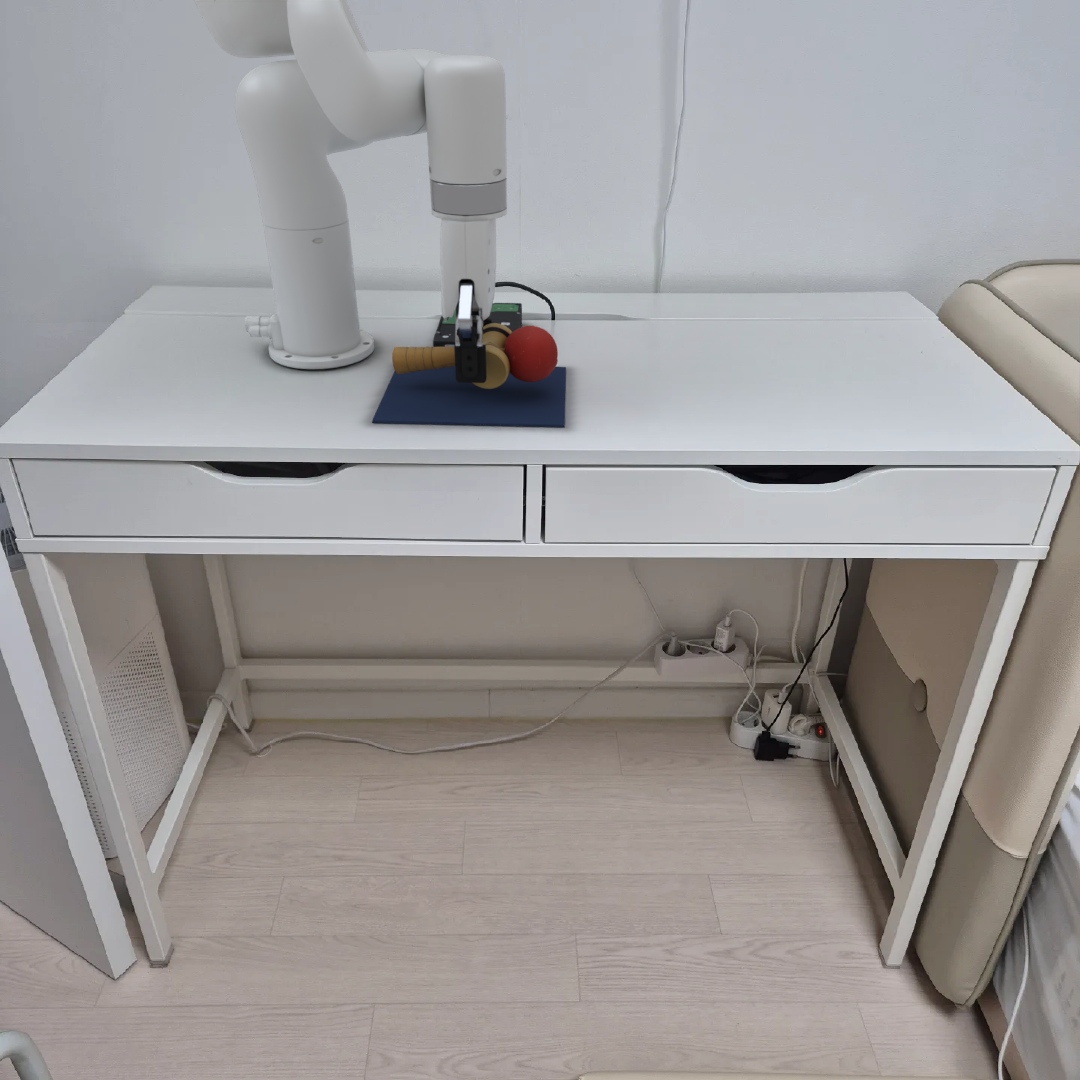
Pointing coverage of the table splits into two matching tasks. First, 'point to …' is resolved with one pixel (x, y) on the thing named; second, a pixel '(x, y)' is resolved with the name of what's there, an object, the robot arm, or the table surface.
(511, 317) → the disk drive
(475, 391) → the napkin
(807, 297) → the table surface
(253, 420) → the table surface
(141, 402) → the table surface
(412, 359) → the kendama
